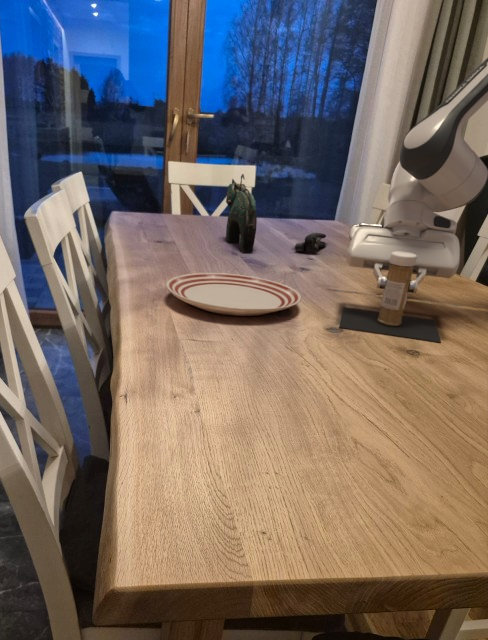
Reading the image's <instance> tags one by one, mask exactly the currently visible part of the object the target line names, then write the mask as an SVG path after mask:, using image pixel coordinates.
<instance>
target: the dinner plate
mask: <svg viewBox="0 0 488 640" xmlns="http://www.w3.org/2000/svg"><path fill="white" fill-rule="evenodd" d="M165 288H166V289H167V291H168V292H169V293H170V294H171V295H173V296H174V297H176V298H177V299H178V300H180V301H182V302H185V303H186V304H189V305H190V306H191V305H192V307H196V308H197V309H200V310H203V311H206V312H210V313H215V314H220V315H227V316H239V317H240V316H241V317H251V316H253V317H254V316H261V315H262V316H263V315H267V314H271V313H275V312H279V311H283V310H286V309H289V308H290V307H293V306H295V305H297V304H299V303H300V302H301V300H302V296H301V294H300V292H298V290H296V289H294V288H293V287H290V286H288V285H286V284H283V283H280V282H277V281H274V280H270V279H266V278H263V277H262V278H261V277H257V276H252V275H251V276H250V275H244V274H237V273H227V272H195V273H194V272H193V273H187V274H181V275H177V276H174V277H172V278H169V279H168V280H167V281H166V283H165Z"/></svg>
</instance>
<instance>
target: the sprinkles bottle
mask: <svg viewBox="0 0 488 640" xmlns="http://www.w3.org/2000/svg"><path fill="white" fill-rule="evenodd" d="M416 258H417V256H416V255H415V254H413V253H409V252H401V251H396V252H392V253H391V256H390V261H389V262H390V263H389V265H390V266H389V270H388V271H387V274H386V277H387V279H386V285H385V289H383V293H382V298H381V303H380V309H379V312H380V313H379V317H378V322H379V323H381V324H383V325H387V326H399V325H401V323H402V316H403V315H404V311H405V307H406V304H407V299H408V295H409V292H408V289H409V285H410V280H412V276H413V274H412V271H413V268H414V265H415V263H416Z"/></svg>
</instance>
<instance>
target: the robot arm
mask: <svg viewBox="0 0 488 640" xmlns="http://www.w3.org/2000/svg"><path fill="white" fill-rule="evenodd" d="M487 102H488V57H487V58H485V60H483V61H482V62H481V64H479V65H478V66H477V67H476V68H475V69H474V70H473V71H472V72H471V73H470V74H469V75H468V76H467V77H466V78H465V79H464V80H463V81H462V82H461V83H460V84H459V85H458V86H457V87H456V88H455V89H454V90H453V91H452V92H451V93H450V94H449V95H448V96H446V98H445V99H444V100H443V101H441V103H440V104H439V105H438V106H437V107H436V108H435V109H434V110H433V111H432V112H431V113H429V114H428V115H426V116H425V117H424V118H422V119H421V120H419V121H418V122H417V123H416V124H415V125H413V126H412V128H410V130H409V131H407V133H406V134H405V136H404V137H403V140H402V143H401V145H400V150H399V162H398V163H397V165H396V167H395V169H394V171H393V174H392V176H391V180H390V184H389V190H388V195H387V201H388V205H387V207H386V209H385V212H384V218H383V224H380V223H379V224H378V223H367V222H359V224H355V225H353V226H351V228H350V230H349V235H348V237H349V240H350V242H349V246H348V249H347V254H346V263H347V265H348V266H349V267H352V268H361V269H369V270H373V271H372V274H373V276H374V278H375V280H376V281H377V283H376V289H381V290H384V289H385V285H386V279H387V276H383V274H382V271H386V272H388V270H389V266H390V265H389V263H390V262H389V261H390V256H391V253H392V252H396V251H401V252H409V253H413V254H415V255H416V256H417V258H416V263H415V265H414V268H413V271H412V275H416V276H415V279H411V280H410V285H409V289H408V293H411V294H412V293H413V294H417V291H418V288H419V286H420V284H421V283H422V282H423V281H424V279H425V277H435V278H443V279H451V278H452V277H453V276H455V275H456V274H457V271H458V270H459V266H460V258H461V245H460V240H459V238H458V236H457V235H456V232H457V228H458V223H457V221H455V220H453V219H451V218H448V217H446V216H444V215H440V214H437V213H442V212H443V213H444V212H446V211H451V210H455V209H458V208H462V207H465V206H467V205H469V204H471V203H473V202H474V201H475V200H476V199H477V198H478V197H479V196H480V195H481V193H482V192H483V190H484V189H485V187H486V185H487V182H488V167H487V166H486V165H485V163H484V161H482V159H481V158H480V157H479V156H478V154H477V153H476V152H475V150H474V149H472V148H471V146H470V145H469V144H468V142H466V140H465V139H464V138H463V137H462V130H463V127H464V125H465V124H466V123H467V122H468V121H469V120H470V119H471V118H472V116H474V115H475V114H476V113H477V112H478V111H479V110H480V109H481V108H482V107H483V106H484V105H485V104H486V103H487Z"/></svg>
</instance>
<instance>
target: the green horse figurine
mask: <svg viewBox="0 0 488 640" xmlns="http://www.w3.org/2000/svg"><path fill="white" fill-rule="evenodd" d="M242 180H245V174H244V173H242V174H241V176H240V183H237V182H236V181H235V179H233V178H232V179H231V183H229V185H228V186H227V189H226V197H225V203H226V204H227V206H228V207H229V211H228V216H227V222H226V227H225V229H226V230H225V241H226V242H227V243H229V244H239V248H240V250H239V251H240V253H242V254H253V251H254V245H255V241H256V240H255V239H256V234H257V223H258V217H257V215H258V213H257V201H256V200H255V196H254V195H253V194H252V192H250V190H249V189H247V186H246V185H245V183H243V181H242Z"/></svg>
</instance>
